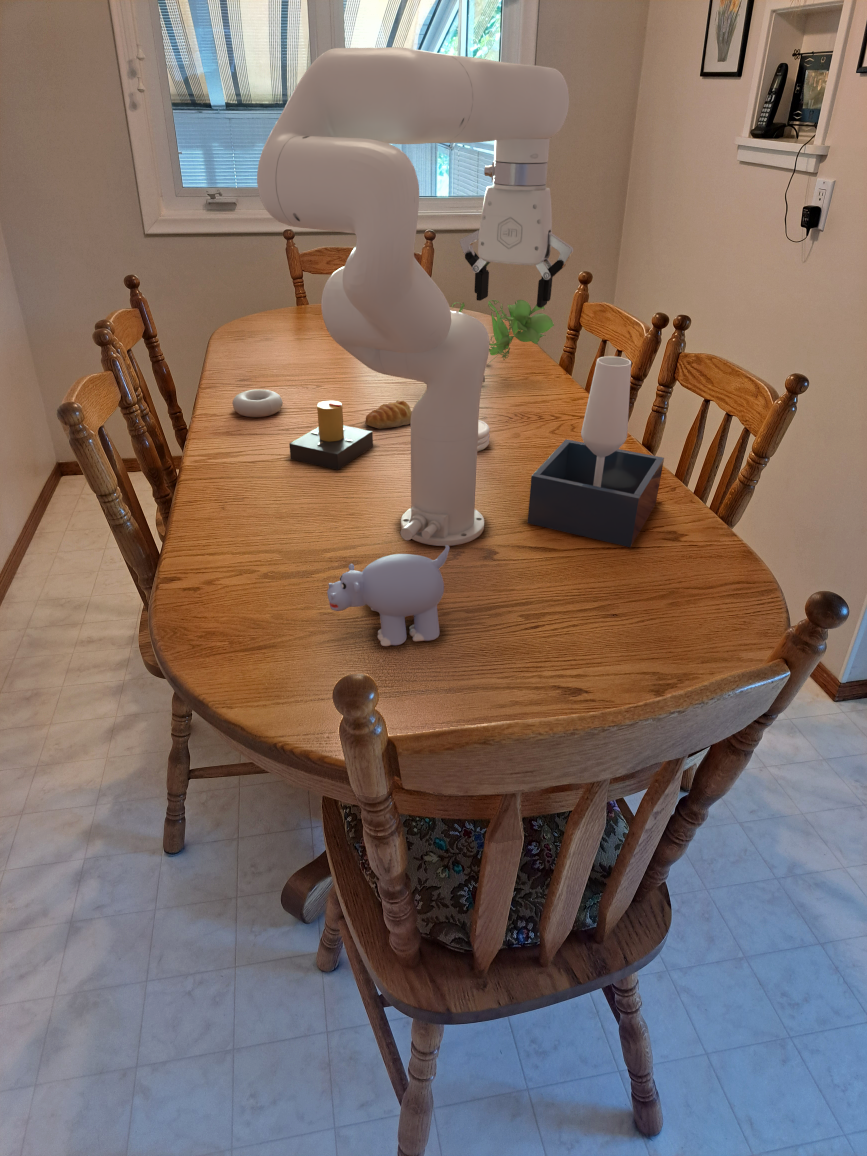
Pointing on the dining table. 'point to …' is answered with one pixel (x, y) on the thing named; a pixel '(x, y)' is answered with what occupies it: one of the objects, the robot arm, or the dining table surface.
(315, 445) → the panel
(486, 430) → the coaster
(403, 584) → the hippopotamus toy
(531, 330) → the plant cuttings
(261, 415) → the donut
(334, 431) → the tap knob
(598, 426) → the champagne flute
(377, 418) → the pastry
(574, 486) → the basin
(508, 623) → the dining table surface
